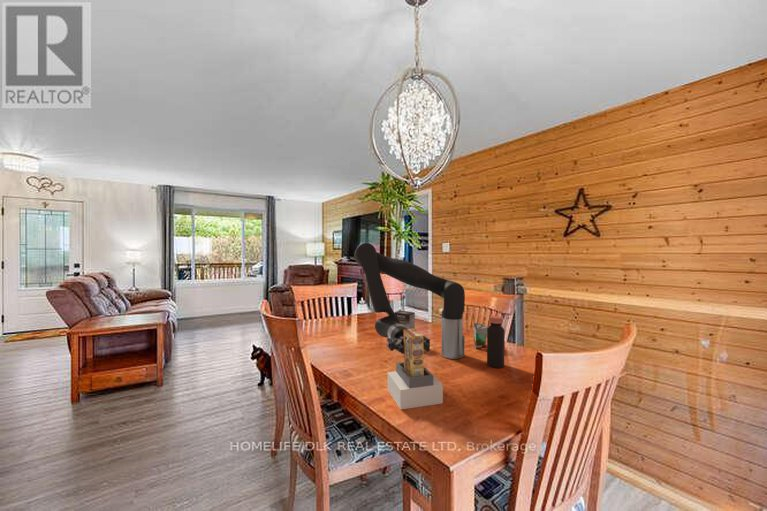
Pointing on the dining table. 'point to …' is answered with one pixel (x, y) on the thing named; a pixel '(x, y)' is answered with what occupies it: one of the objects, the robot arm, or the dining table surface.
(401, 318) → the coffee box
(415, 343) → the candy box
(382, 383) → the dining table surface
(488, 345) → the bottle
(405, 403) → the stand
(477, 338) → the food container
